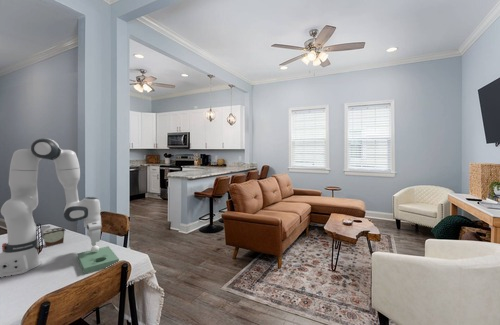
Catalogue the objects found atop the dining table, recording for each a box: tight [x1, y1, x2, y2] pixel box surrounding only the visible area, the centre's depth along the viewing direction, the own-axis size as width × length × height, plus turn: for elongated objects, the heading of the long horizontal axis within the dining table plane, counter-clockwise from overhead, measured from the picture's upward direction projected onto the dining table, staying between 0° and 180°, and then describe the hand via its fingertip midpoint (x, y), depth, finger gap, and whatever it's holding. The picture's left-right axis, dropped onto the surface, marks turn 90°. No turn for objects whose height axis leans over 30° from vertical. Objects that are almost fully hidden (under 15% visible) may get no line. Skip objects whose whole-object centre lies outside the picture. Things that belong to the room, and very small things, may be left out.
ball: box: [90, 244, 100, 253], centre depth 140 cm, size 4×4×4 cm
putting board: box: [76, 246, 120, 275], centre depth 135 cm, size 16×24×3 cm, turn 43°
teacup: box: [40, 225, 52, 240], centre depth 170 cm, size 15×12×8 cm
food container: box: [42, 227, 66, 248], centre depth 159 cm, size 12×6×10 cm, turn 144°
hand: (93, 245), depth 146 cm, fingers closed
